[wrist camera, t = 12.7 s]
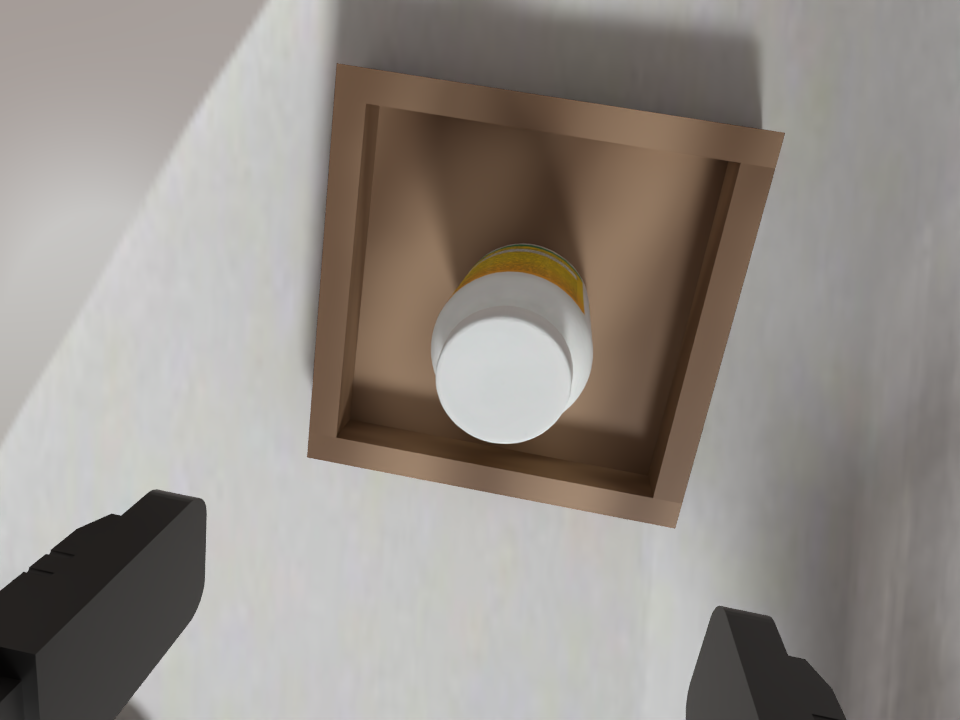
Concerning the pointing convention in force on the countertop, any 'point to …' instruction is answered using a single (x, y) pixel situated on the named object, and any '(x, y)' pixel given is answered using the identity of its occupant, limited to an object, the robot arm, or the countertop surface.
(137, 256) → the countertop surface
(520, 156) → the tray
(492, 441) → the supplement bottle
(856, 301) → the countertop surface
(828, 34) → the countertop surface
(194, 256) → the countertop surface
